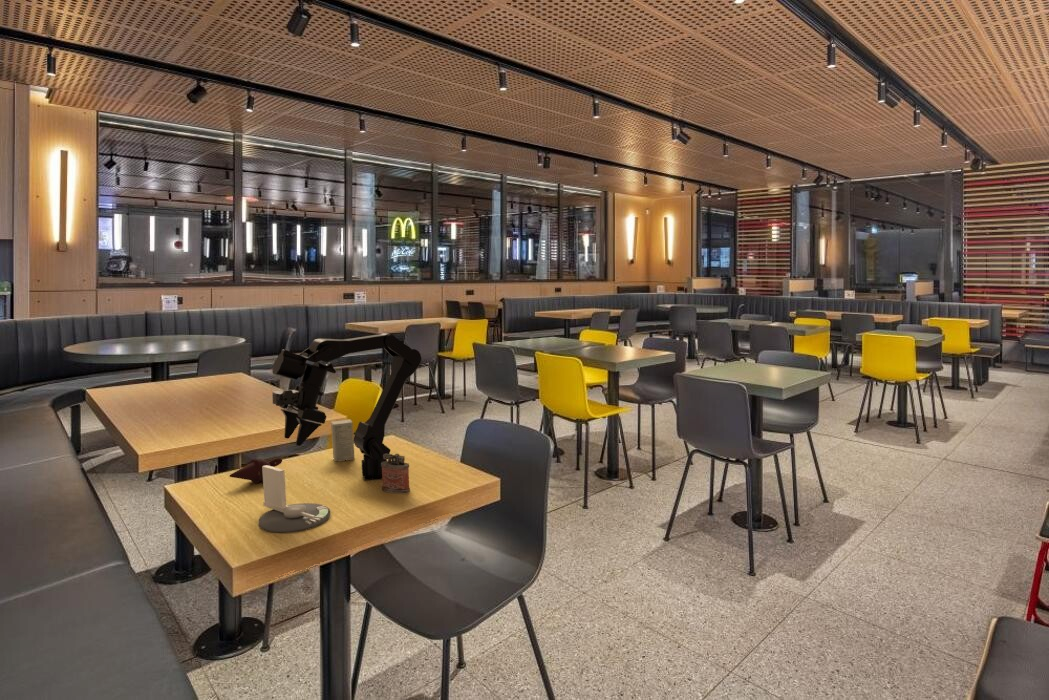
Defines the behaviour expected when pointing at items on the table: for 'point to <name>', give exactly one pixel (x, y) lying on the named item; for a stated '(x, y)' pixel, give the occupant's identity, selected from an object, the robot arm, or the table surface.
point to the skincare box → (342, 440)
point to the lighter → (395, 474)
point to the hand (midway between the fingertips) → (292, 441)
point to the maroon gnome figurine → (255, 469)
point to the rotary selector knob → (279, 494)
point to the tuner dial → (294, 519)
